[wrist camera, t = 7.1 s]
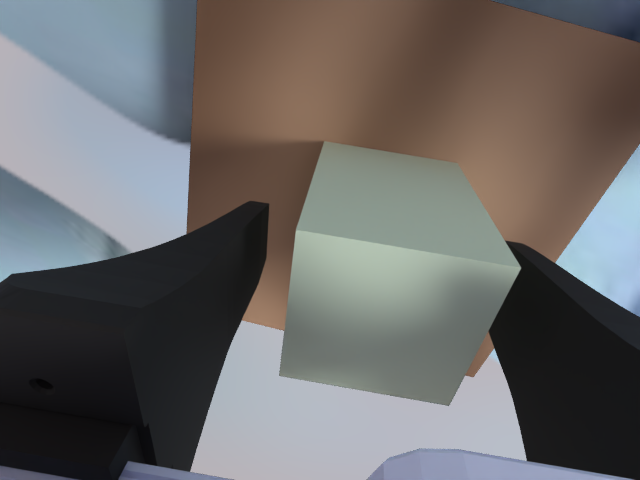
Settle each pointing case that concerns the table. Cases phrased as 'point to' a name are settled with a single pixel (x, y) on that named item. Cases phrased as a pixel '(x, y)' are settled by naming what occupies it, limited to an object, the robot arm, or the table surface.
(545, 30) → the walnut plinth
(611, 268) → the table surface
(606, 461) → the robot arm
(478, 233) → the sage block
